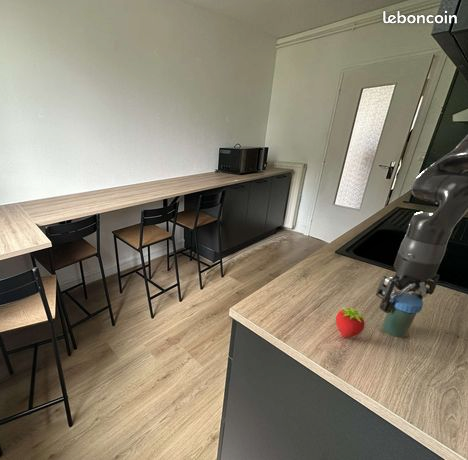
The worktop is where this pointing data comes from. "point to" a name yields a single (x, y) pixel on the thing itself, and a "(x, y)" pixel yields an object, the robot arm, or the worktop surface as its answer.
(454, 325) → the worktop surface
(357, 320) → the strawberry
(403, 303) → the jar lid
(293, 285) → the worktop surface
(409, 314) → the jar
